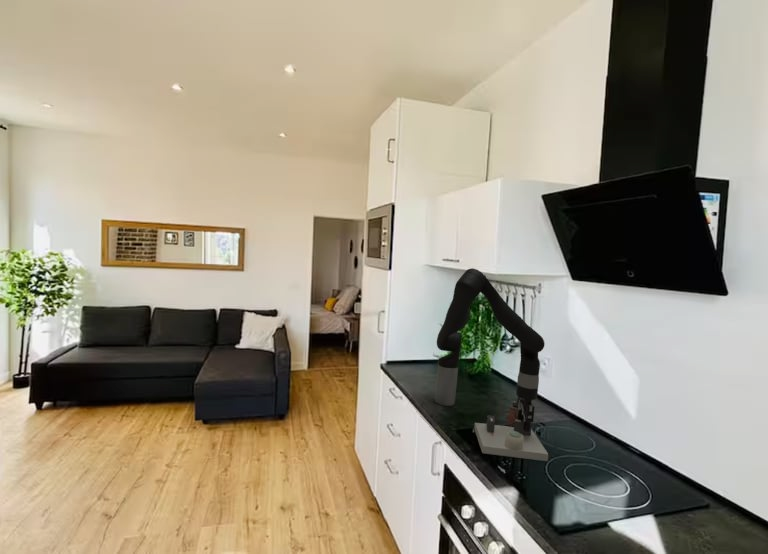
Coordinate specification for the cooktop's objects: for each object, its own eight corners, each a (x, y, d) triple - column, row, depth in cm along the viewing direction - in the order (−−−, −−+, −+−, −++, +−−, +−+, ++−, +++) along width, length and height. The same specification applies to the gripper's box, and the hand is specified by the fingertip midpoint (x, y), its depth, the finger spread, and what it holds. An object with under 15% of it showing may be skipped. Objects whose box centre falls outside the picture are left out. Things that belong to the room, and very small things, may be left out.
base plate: (474, 428, 158) (476, 411, 158) (531, 435, 156) (533, 417, 156) (482, 453, 138) (484, 433, 138) (547, 461, 136) (549, 441, 136)
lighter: (510, 426, 164) (513, 402, 163) (506, 422, 167) (508, 399, 167) (527, 425, 166) (530, 402, 165) (522, 422, 169) (525, 399, 169)
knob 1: (492, 426, 155) (493, 415, 155) (493, 432, 149) (495, 421, 149) (486, 425, 156) (487, 414, 155) (487, 431, 150) (488, 419, 150)
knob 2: (530, 435, 149) (531, 424, 149) (513, 432, 151) (515, 420, 151) (530, 433, 152) (531, 421, 152) (513, 429, 154) (515, 418, 153)
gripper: (543, 392, 143) (538, 435, 144) (532, 379, 158) (527, 419, 158) (522, 389, 144) (517, 433, 145) (512, 377, 158) (508, 417, 159)
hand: (523, 426), depth 152 cm, fingers open, 8 cm apart
